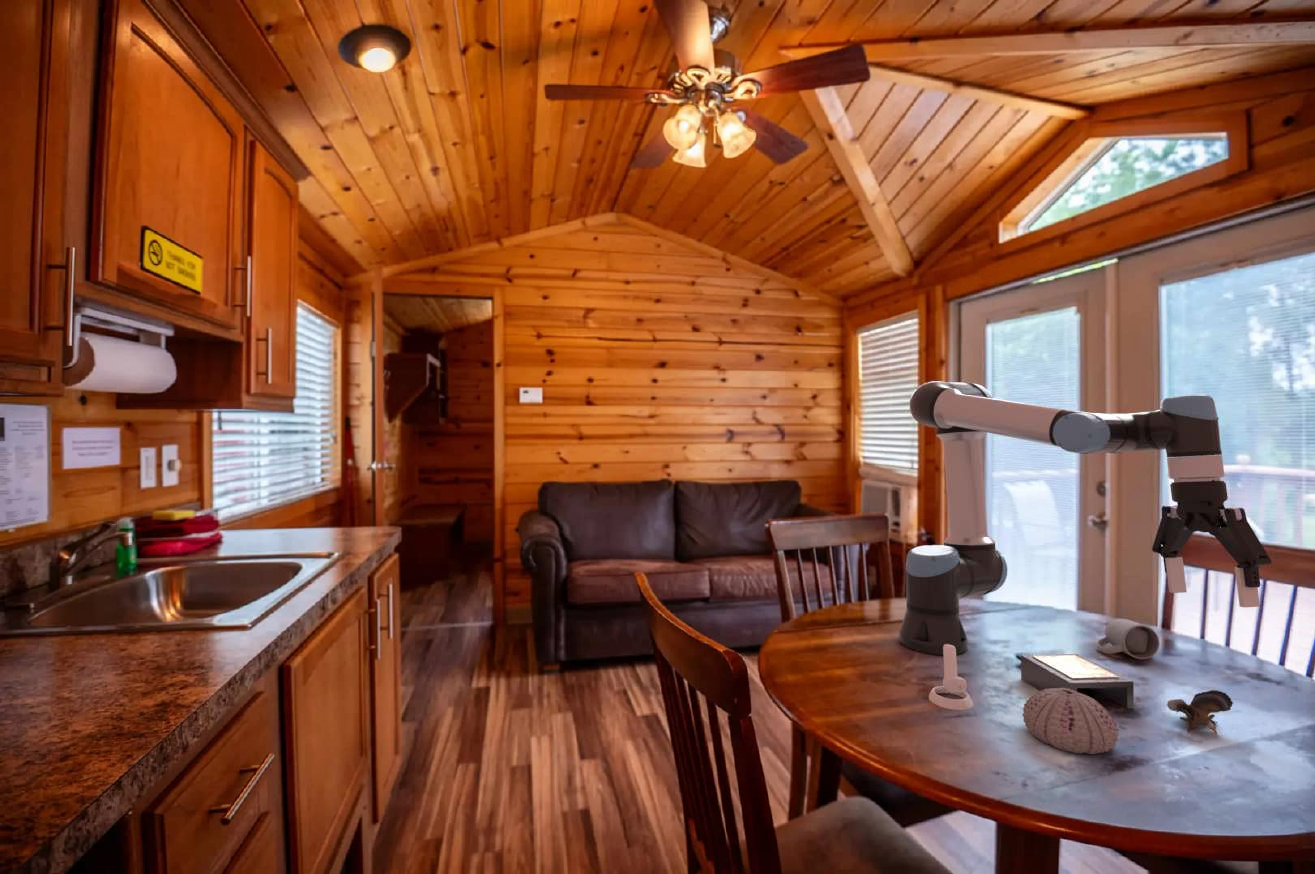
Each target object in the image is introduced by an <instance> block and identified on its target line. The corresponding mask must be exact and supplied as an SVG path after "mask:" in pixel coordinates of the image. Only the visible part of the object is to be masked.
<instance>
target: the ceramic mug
mask: <svg viewBox="0 0 1315 874" xmlns="http://www.w3.org/2000/svg"><path fill="white" fill-rule="evenodd" d="M1104 634H1105V636H1104V637H1103V638H1099V640H1097V641H1096V647H1097V649H1098V651H1099V652H1100V653H1102V654H1108V655H1110V654H1117V653H1120V652H1123V653H1125V654H1127V655H1128V656H1130V657H1132V658H1134V659H1137V660H1147V659H1150V658H1152V657H1154V656H1155V655H1156V654H1157V653H1158V651H1159V648H1160V638H1159V635H1158V634H1157V633H1156V631H1155V630H1154V629H1153V628H1152V627H1150V626H1148V625H1146V624H1141V623H1139V622H1136V621H1133V620H1130V619H1125V618H1115V619H1112V620H1111V621H1109V622H1108V623H1107V625H1106V627H1105V630H1104ZM1108 644H1111V646H1107V647H1106V645H1108ZM1104 646H1105V647H1104Z"/></svg>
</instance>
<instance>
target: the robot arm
mask: <svg viewBox="0 0 1315 874" xmlns="http://www.w3.org/2000/svg"><path fill="white" fill-rule="evenodd" d="M909 411H910V414H911V416H912V417H913V419H914V420H915V421H916V422H918V423H919V424H920V425H923V426H925V427H930V428H935V434H936V437H937V438H938V439H939V440H941V441H942V443H943V456H944V471H945V484H946V498H947V499H946V500H947V513H948V514H947V515H948V526H949V527H948V529H949V535H948V536H947V537H946V538H945V539H944V540H943V545H942V544H931V545H929V544H928V545H919V546H915V547H914V548H912V549H910V550H909V551H908V553H907V554H906V563H905V582H906V583H905V588H906V589H905V590H906V592H905V593H906V594H905V595H906V597H905V598H906V599H905V600H906V610H905V613H904V616H903V619H902V622H901V625H900V627H899V631H898V641H899V643H900V642H901V643H902V644H903V645H902V644H901V643H900V644H901V645H902V646H904V645H905V646H907V647H908V648H907V647H906V648H907V649H910V650H912V649H915V650H918V651H917V652H919V651H921V652H920V653H923V652H924V653H923V654H928V653H929V655H935V654H937V655H936V656H943V646H944V645H945V644H949V645H953V646H954V647H955V648H956V656H957V655H961V654H965V653H967V651H968V650H969V649H968V647H969V646H968V645H969V643H968V637H967V634H966V631H965V629H964V626H963V623H962V620H961V617H960V599H962V598H968V597H975V596H985V595H988V594H990V593H993V592H996V591H998V590H999V589H1000V588H1001V587H1003V585H1004V584H1005V582H1006V579H1007V576H1008V563H1007V561H1006V558H1005V557H1004V556H1002V553H1001V552H1000V551H999V550H998V549H996V541H995V540H994V539H993V538H992V537H990V535H989V534H988V523H987V510H986V509H987V507H986V499H985V498H986V496H985V482H984V480H985V479H984V470H983V456H982V453H983V452H982V442H981V441H982V439H983V438H984V437H985V436H986V435H987V433H989V434H994V435H997V436H998V435H999V436H1003V437H1009V438H1014V439H1018V440H1019V439H1020V440H1024V441H1029V442H1032V443H1033V442H1034V443H1038V444H1044V445H1050V446H1052V447H1058V448H1061V449H1062V450H1064V451H1066V452H1069V453H1073V454H1080V455H1081V454H1082V455H1084V454H1085V455H1088V454H1095V453H1096V454H1097V453H1102V454H1122V453H1128V452H1129V453H1133V452H1145V451H1155V450H1158V451H1160V450H1165V454H1166V461H1167V473H1168V478H1169V479H1170V480H1173V481H1171V482H1170V484H1169V487H1170V488H1169V489H1170V495H1171V500H1172V502H1174V503H1177V504H1176V505H1163V506H1161V519H1160V522H1159V525H1158V528H1157V532H1156V535H1155V538H1154V541H1153V544H1152V547H1151V550H1152V552H1153V553H1156V554H1159V555H1160V556H1161V557H1162V558H1163V559H1162V560H1163V566H1164V567H1163V568H1164V572H1165V574H1166V576H1167V585H1168V592H1169V593H1172V594H1180V593H1184V594H1185V593H1187V585H1186V584H1187V583H1186V575H1185V568H1184V567H1185V566H1184V559H1183V557H1182V554H1181V551H1182V550H1183V549H1184V547H1185V546H1186V544H1188V541H1189V540H1190V539H1191V537H1192V535H1193V534H1194V533H1195V532H1201V533H1208V534H1209V535H1211V536H1213V537H1215V539H1216V540H1217V541H1218V542H1219V543H1220V544H1221V545H1222V546H1223V548H1224V549H1225V550H1226V551H1227V553H1228V554H1229V555H1230V556H1231V557H1232V559H1233V560H1235V562H1236V563H1237V565H1236V567H1235V566H1234V572H1235V580H1236V581H1235V582H1236V588H1237V595H1238V604H1239V607H1240V608H1255V607H1256V608H1259V607H1261V603H1260V602H1261V601H1260V596H1259V595H1260V594H1259V588H1260V586H1261V579H1260V572H1259V569H1260V567H1261V566H1262V567H1263V566H1266V565H1271V564H1272V559H1271V557H1270V556H1269V554H1268V553H1267V551H1266V549H1265V548H1264V546H1263V545H1262V543H1261V541H1260V538H1259V537H1258V536H1257V535H1256V533H1255V531H1254V530H1253V527H1252V525H1250V523H1249V522H1248V519H1247V515H1246V511H1245V508H1243V507H1225V502H1226V501H1228V499H1229V498H1228V489H1227V482H1225V481H1224V480H1221V478H1224V477H1225V469H1224V461H1223V460H1224V459H1223V453H1222V447H1221V446H1222V445H1221V436H1220V435H1221V434H1220V426H1219V419H1220V418H1219V417H1218V412H1217V408H1216V404H1215V400H1214V398H1213V397H1212V396H1210V395H1209V394H1190V395H1179V396H1171V397H1166V398H1164V399H1162V400H1161V401H1160V404H1159V409H1156V410H1153V411H1143V412H1133V413H1097V412H1086V411H1081V410H1073V409H1064V408H1059V407H1050V406H1046V405H1045V406H1043V405H1037V404H1032V403H1031V404H1030V403H1023V402H1017V401H1010V400H1004V399H998V398H994V396H993V395H992V394H991V392H990V391H989V389H986V388H985V387H984V386H982V385H981V384H977V383H972V382H968V381H964V382H963V381H962V382H961V381H959V382H958V381H941V380H940V381H939V380H937V381H936V380H934V381H929V382H924V383H923V384H921V385H919V386H918V387H917V388H916V389H915V390H914V391H913V392H912V394H911V396H910V400H909ZM905 646H904V647H905ZM915 650H914V651H915Z"/></svg>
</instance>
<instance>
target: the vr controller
mask: <svg viewBox="0 0 1315 874" xmlns="http://www.w3.org/2000/svg"><path fill="white" fill-rule="evenodd" d="M942 656H943V680H942V685H939V686H938V685H937V686H934V687H933V688H932V689H930V692H929V694H928V697H929V698H928V700H929V701H930V703H933V704H934V705H937V706H939V707H941V708H944V709H947V710H953V711H954V710H955V711H966V710H970V709H972V708H973V706H974V703H973V701H972V698H971V697H970V695H969V693H968V692H967V691H966V689H967V688H968V683H967V681H966V679H964V678H963V677H961V676H958V663H957V662H958V661H957V655H956V648H955V647H954V646H953V645H949V644H945V645H944V646H943V655H942ZM936 693H937V694H936ZM948 693H950V694H949V695H954V696H958V697H960V698H961V699H960V698H957V699H956V698H948V697H944V696H942V695H939V694H948Z"/></svg>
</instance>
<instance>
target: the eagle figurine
mask: <svg viewBox="0 0 1315 874" xmlns="http://www.w3.org/2000/svg"><path fill="white" fill-rule="evenodd" d="M1193 696H1194V697H1193V698H1192V700H1191V702H1190V704H1187V703H1186V702H1185V701H1184V700H1183V699H1182V698H1178V699H1177V698H1176V699H1171V700H1169V701H1167V704H1166V705H1167V707H1168V709H1169V710H1170V711H1172V712H1176V713H1182V714H1184V715H1185V716H1186V717H1183V716H1179V719H1180V720H1183V721H1185V722H1186V723H1187V728H1186V731H1187V733H1190V732H1192V731H1193V730H1196V728H1197V727H1198V725H1199V724H1202V725H1203V726H1206V727H1207V728H1208V729H1209V730H1212V731H1213V732H1214V733H1215V734H1218V731H1217V727H1216V725H1214V723H1216V724H1217V723H1218V722H1217V721H1215V720H1213V718H1215V717H1216V715H1215V714H1217V713H1220V712H1228V711H1231V707H1232V708H1233V704H1234V702H1233V700H1232V699H1231V697H1230V696H1229V695H1228V694H1227V693H1226V692H1224V691H1220V690H1215V689H1214V690H1212V689H1211V690H1208V691H1203V692H1199V693H1196V694H1194V695H1193ZM1214 713H1215V714H1214Z"/></svg>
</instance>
